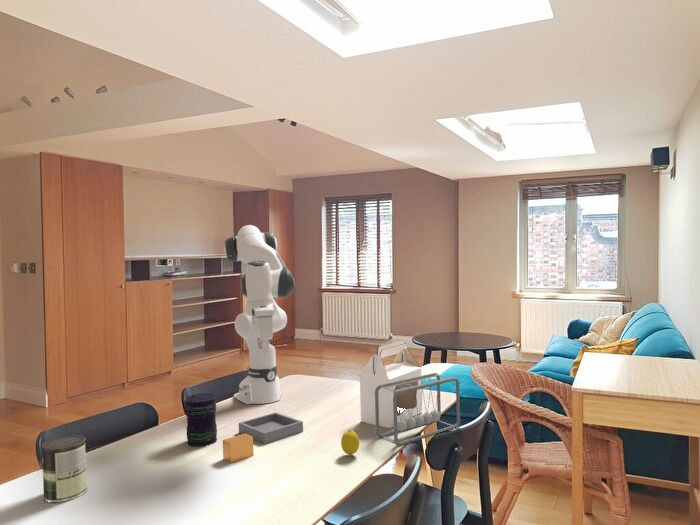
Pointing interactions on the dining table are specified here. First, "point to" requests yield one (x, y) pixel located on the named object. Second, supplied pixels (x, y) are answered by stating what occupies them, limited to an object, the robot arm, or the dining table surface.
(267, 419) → the grey tray
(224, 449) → the wooden block
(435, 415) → the newton's cradle
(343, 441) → the lemon
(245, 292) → the robot arm
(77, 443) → the coffee can
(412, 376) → the gable box
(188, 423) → the black ridged cylinder
